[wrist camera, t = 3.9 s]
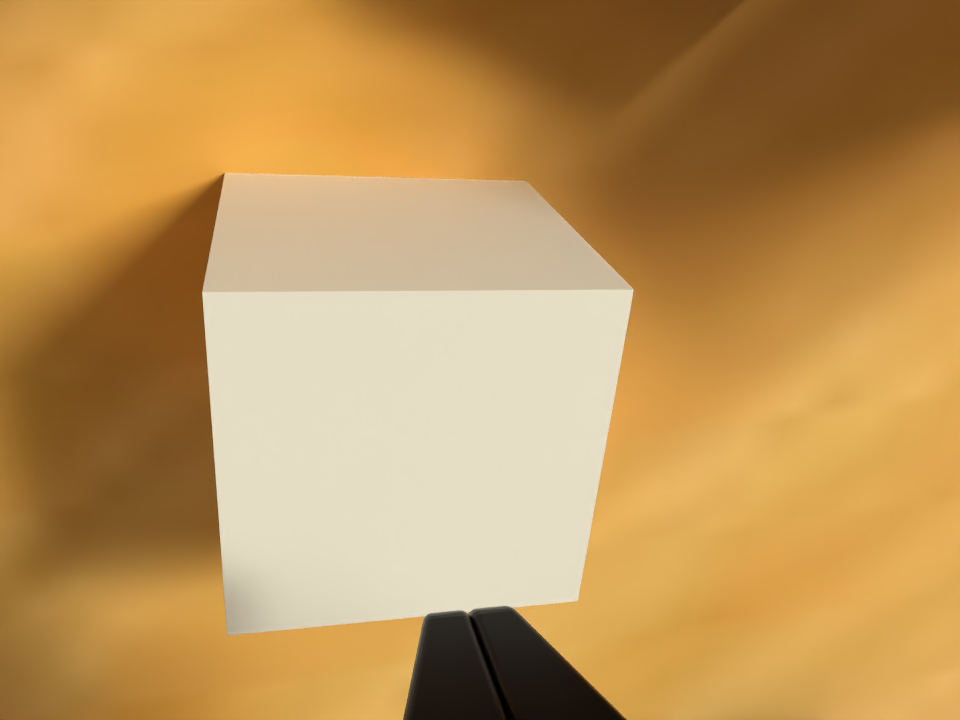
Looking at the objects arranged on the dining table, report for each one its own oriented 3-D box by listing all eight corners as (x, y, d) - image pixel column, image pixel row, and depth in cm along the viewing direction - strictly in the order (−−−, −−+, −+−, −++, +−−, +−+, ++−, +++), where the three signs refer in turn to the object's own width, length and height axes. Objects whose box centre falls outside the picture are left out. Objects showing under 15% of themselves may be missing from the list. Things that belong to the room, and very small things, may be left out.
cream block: (497, 425, 17) (578, 601, 12) (239, 436, 15) (227, 635, 11) (525, 179, 14) (633, 289, 10) (224, 171, 13) (203, 292, 9)
